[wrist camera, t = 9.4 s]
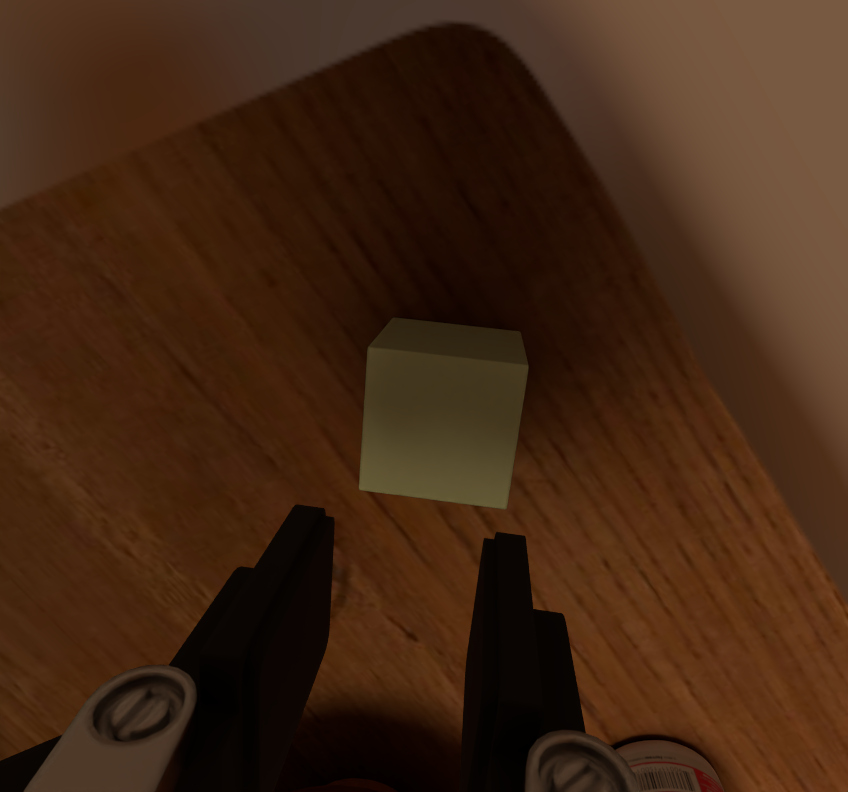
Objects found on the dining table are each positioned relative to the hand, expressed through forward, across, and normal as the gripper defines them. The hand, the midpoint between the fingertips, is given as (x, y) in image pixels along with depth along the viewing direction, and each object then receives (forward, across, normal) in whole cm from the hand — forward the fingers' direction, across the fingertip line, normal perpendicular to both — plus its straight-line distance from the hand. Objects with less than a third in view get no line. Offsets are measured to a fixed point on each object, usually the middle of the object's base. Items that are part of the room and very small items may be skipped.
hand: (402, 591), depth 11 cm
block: (+13, 0, 0) cm, 13 cm away
